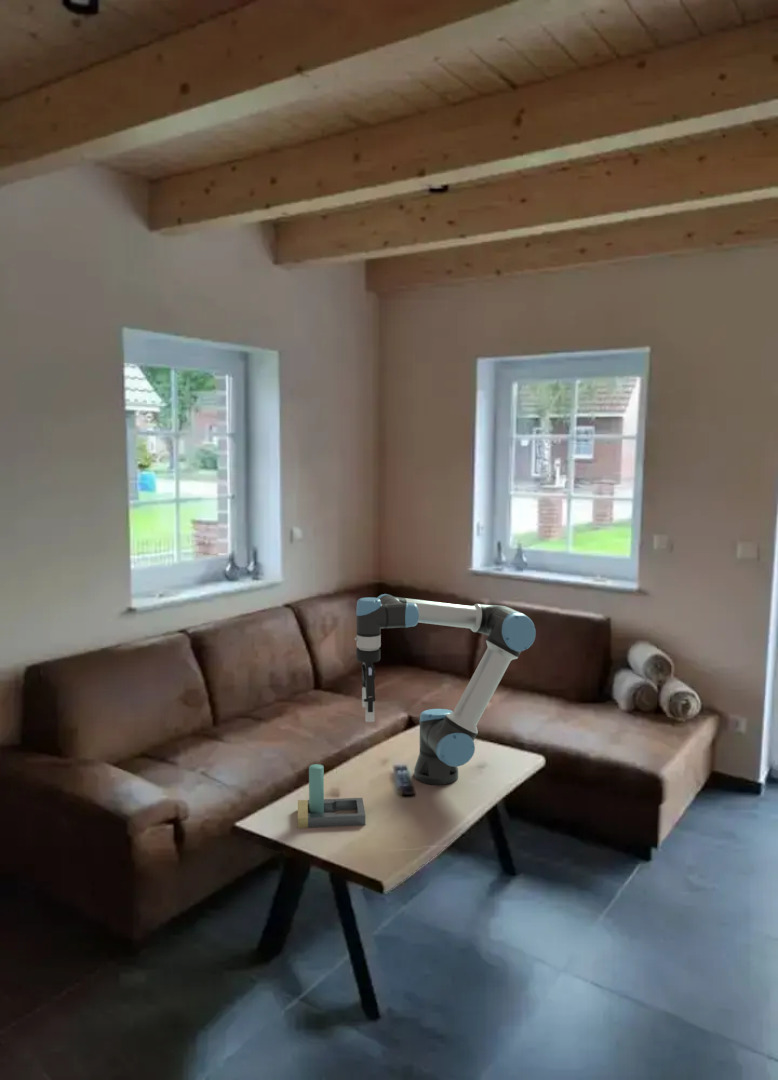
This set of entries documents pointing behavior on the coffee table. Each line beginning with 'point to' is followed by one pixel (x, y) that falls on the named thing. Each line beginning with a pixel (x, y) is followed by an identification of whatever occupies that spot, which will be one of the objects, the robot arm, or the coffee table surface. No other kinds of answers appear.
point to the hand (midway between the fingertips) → (368, 714)
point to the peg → (316, 788)
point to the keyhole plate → (332, 818)
